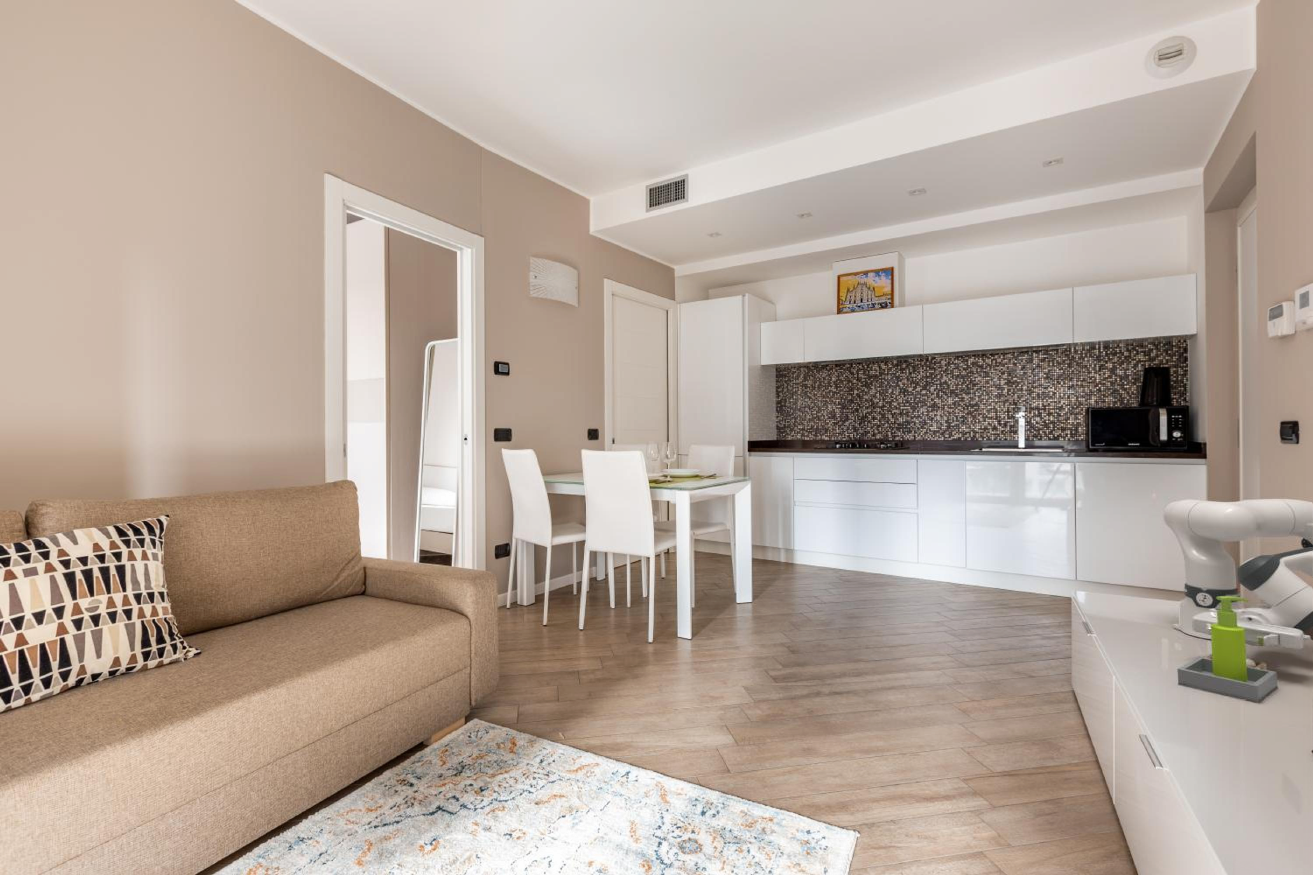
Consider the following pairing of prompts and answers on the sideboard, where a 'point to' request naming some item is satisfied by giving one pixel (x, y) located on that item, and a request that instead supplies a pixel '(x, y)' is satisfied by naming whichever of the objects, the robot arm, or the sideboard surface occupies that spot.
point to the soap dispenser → (1228, 643)
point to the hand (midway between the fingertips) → (1235, 636)
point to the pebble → (1250, 663)
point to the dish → (1227, 681)
